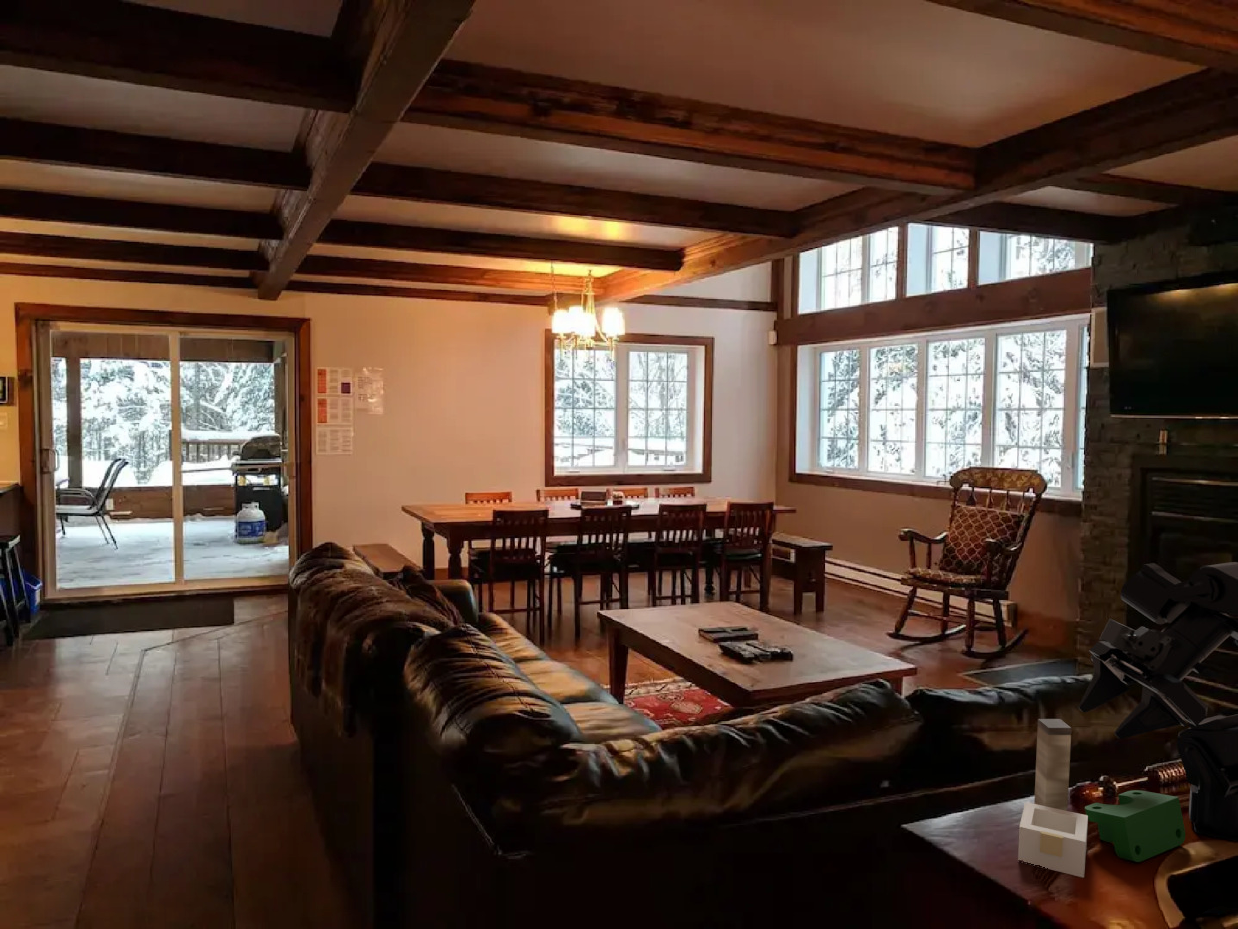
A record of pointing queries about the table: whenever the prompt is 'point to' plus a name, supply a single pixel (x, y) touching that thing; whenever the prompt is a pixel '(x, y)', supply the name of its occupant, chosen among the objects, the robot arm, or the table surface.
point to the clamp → (1140, 824)
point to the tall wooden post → (1052, 763)
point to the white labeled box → (1053, 839)
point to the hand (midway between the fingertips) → (1098, 723)
